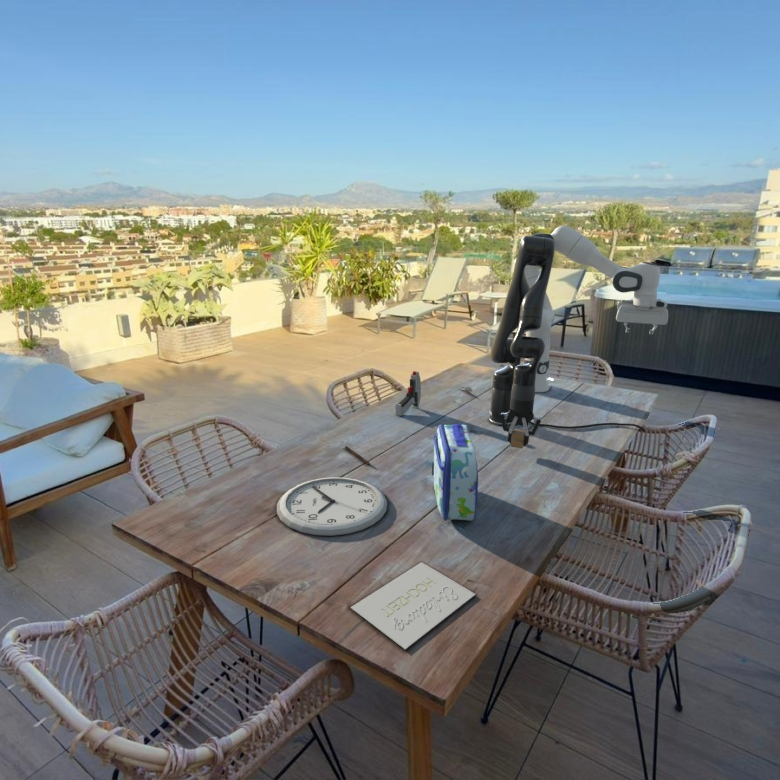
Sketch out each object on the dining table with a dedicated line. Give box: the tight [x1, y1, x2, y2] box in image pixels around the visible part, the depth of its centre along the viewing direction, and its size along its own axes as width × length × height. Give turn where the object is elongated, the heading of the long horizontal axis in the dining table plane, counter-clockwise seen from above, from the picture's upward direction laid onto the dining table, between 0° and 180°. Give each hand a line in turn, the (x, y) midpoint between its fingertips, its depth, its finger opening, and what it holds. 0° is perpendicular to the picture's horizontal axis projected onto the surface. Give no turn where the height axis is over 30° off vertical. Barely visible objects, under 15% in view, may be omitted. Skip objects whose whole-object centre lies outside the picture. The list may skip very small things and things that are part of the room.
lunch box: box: [431, 423, 479, 522], centre depth 142 cm, size 26×11×21 cm, turn 179°
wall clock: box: [276, 476, 388, 537], centre depth 142 cm, size 30×2×30 cm
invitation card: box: [350, 562, 476, 651], centre depth 106 cm, size 21×1×15 cm
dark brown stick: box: [344, 445, 370, 465], centre depth 173 cm, size 15×1×1 cm, turn 34°
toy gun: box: [395, 370, 422, 417], centre depth 214 cm, size 2×16×15 cm
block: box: [510, 428, 525, 449], centre depth 177 cm, size 5×4×5 cm
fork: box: [457, 383, 474, 397], centre depth 243 cm, size 3×16×2 cm, turn 15°
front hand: (517, 443), depth 178 cm, fingers closed on block, 4 cm apart
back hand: (639, 333), depth 227 cm, fingers open, 8 cm apart
